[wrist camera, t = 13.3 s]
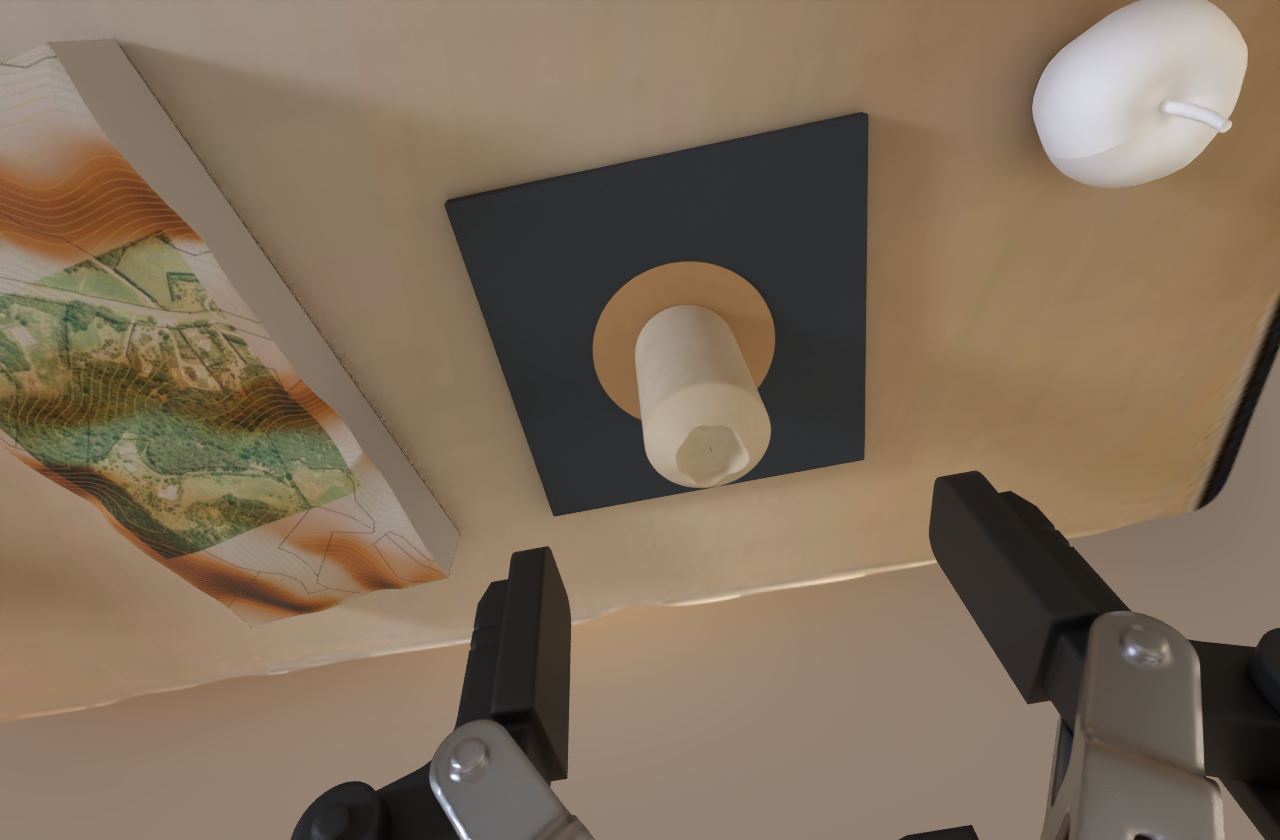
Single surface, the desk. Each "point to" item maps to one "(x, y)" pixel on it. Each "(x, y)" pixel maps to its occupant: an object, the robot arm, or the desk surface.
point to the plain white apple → (1140, 92)
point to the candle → (698, 399)
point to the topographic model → (183, 360)
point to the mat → (679, 297)
